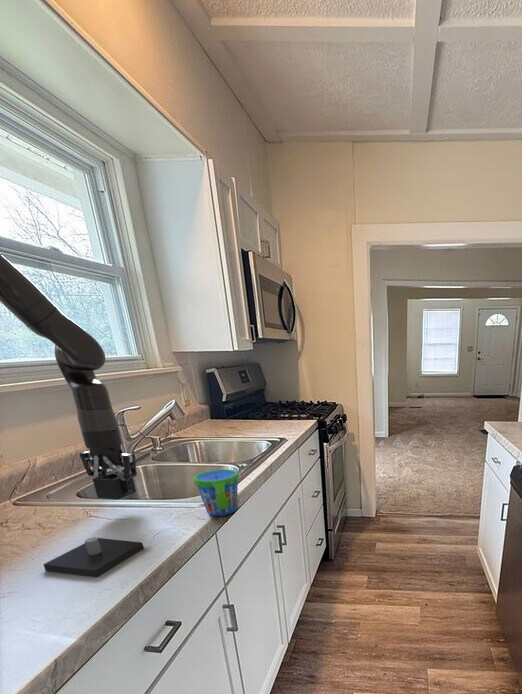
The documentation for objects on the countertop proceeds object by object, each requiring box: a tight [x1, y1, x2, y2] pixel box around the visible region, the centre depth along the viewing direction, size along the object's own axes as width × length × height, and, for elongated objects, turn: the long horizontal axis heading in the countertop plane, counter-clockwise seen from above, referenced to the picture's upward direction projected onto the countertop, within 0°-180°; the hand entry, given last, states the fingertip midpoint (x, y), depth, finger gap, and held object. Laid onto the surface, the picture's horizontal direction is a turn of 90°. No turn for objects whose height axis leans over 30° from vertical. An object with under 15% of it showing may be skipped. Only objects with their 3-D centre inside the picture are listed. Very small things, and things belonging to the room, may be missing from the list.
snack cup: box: [193, 469, 240, 517], centre depth 104 cm, size 16×10×10 cm
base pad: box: [42, 536, 145, 578], centre depth 82 cm, size 12×12×4 cm
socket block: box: [92, 471, 137, 501], centre depth 102 cm, size 6×6×5 cm
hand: (116, 492), depth 103 cm, fingers closed on socket block, 6 cm apart
